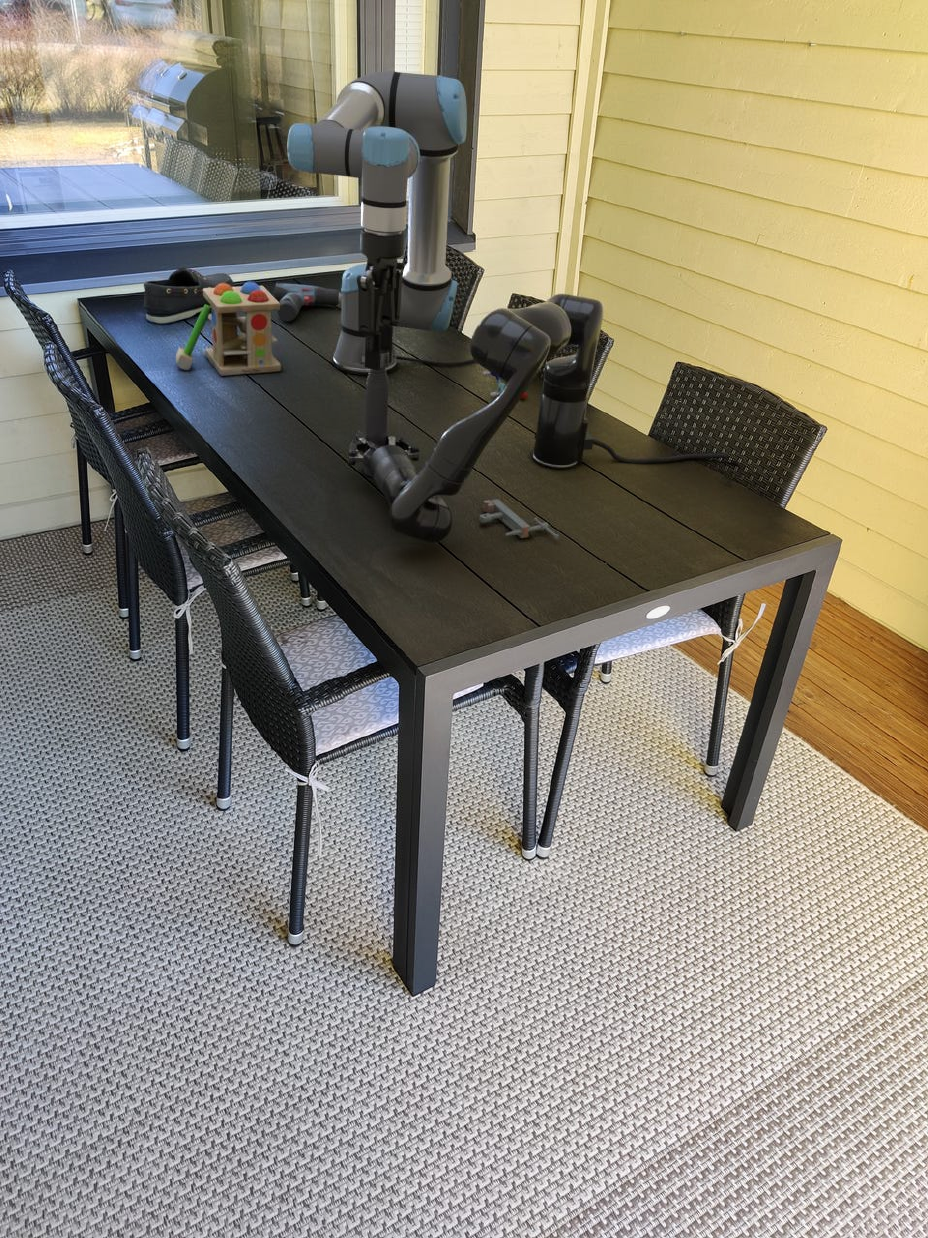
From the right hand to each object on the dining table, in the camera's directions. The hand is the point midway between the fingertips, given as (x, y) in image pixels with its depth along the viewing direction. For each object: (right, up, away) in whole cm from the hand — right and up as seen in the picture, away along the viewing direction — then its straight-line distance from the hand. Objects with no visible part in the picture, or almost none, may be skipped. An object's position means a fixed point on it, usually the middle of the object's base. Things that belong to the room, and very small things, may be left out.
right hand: (371, 434), depth 189 cm
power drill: (-25, +48, +78) cm, 95 cm away
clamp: (+27, -19, -13) cm, 35 cm away
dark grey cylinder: (0, -7, +2) cm, 7 cm away
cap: (+2, +13, -12) cm, 18 cm away
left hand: (+2, +11, -11) cm, 15 cm away
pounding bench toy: (-38, +24, +42) cm, 61 cm away
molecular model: (+27, +15, +38) cm, 49 cm away
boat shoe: (-55, +48, +74) cm, 104 cm away
